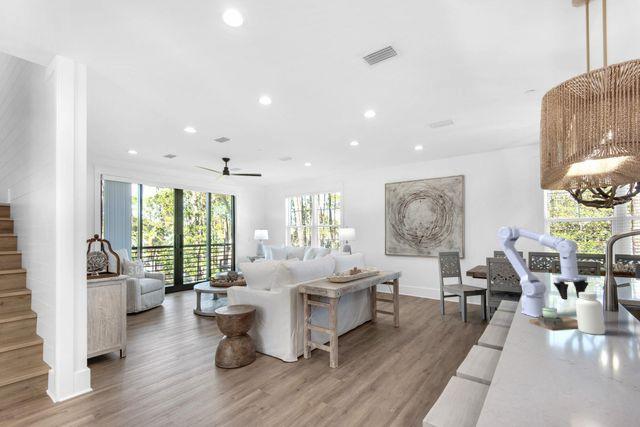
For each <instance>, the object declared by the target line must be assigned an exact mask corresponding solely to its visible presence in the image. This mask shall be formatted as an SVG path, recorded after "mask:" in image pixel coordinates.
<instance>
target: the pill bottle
mask: <svg viewBox="0 0 640 427" xmlns="http://www.w3.org/2000/svg"><path fill="white" fill-rule="evenodd" d="M579 296H580V297H579V298H577V299H576V300H575V311H576V320H577V322H578V328H577V329H578V331H579V332H581V333H583V334H589V335H604V334H606V327H605V319H604V311H603V305H602V302H601V301H599V300H598V299H597V293H596V292H591V291H585V292H579Z"/></svg>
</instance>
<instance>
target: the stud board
mask: <svg viewBox="0 0 640 427" xmlns="http://www.w3.org/2000/svg"><path fill="white" fill-rule="evenodd" d="M528 321H529V323H530V324H532V325H536V326H538V327H541V328H545V329H547V330H549V331H550V330H551V331H562V330H563V331H564V330H574V329H578V322H577V318H576V319H575V318H572V317H569V316H562V317H561V316H558V315H557V319H554V320H553V319H545V318H543V315H539V317H537V318H535V319H534V318H533V319H529V320H528Z"/></svg>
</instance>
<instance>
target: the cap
mask: <svg viewBox="0 0 640 427" xmlns="http://www.w3.org/2000/svg"><path fill="white" fill-rule="evenodd" d="M542 310H543V318H545V319H553V320H554V319H557V316H558V310H557V308H555V307H548V306H547V307H546V306H545V307H544V308H542Z"/></svg>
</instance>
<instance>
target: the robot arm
mask: <svg viewBox="0 0 640 427" xmlns="http://www.w3.org/2000/svg"><path fill="white" fill-rule="evenodd" d="M497 236H498V238H499V244H500V245H499V246H500V248H501V250H502V251H503V254H504V255H505V256H506V258H507V260H508V261H509V263H511V265H512V267H513V269H514V271H515V272H516V274H517V275H518V277H519V279H520V281H519V284H520V286H521V290H522V292H523V294H524V295H522V296H521V298H520V303H521V311H520V313H521V314H525V315H527V316H530V317H533V318H538V317H539V315H543V310H542V308H544V307H546V304H545V294H544V293H546V291H547V286H546V284H545V283H544V282H542V281H541V280H540V279H539V278H538V277H537V276H535V275H534V274H533V273H532V271H531V270H530V268H529V267H528V266H527V264H526V263H525V261H524V259H523V258H522V256H521V255H520V253H519V252H518V251H517V249H516V247H515V245H516V242H517V241H518V240H519V238H520V237H521V238H522V237H523V238H527V239H530V240H533V241H537V242H539V243H540V245H541V246H543V247H547V248H550V249H552V250H556V251H557V252H558V253H559V262H560V270H561V276H560V277H558V276H557V277H553V285H554V286H555V288H556V290H557V291H558V294H559V296H560V298H561V300H565V301H567V300H568V289H569V283H573V285H574V286H573V287H574V289H575V293H576V297H577V299H580V298H579V297H580V296H579V292H586V289H587V288H588V286H589V282H588V276H583V275H581V276H579V269H578V261H577V260H578V259H577V254H576V251H577V250H578V247H579V246H578V243H577V242H576V241H574V240H573V239H571V238H570V239H568V238H567V239H565V237H563V236H561V237H559V236H556V235H554V234H553V233H552V232H551V233H550V232H549V233H544V234H540V233H538V232H535V231H532V230H529V229H526V228H523V227H518V226H516V225H515V226H502V227H500V228H499V231H498V234H497Z"/></svg>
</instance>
